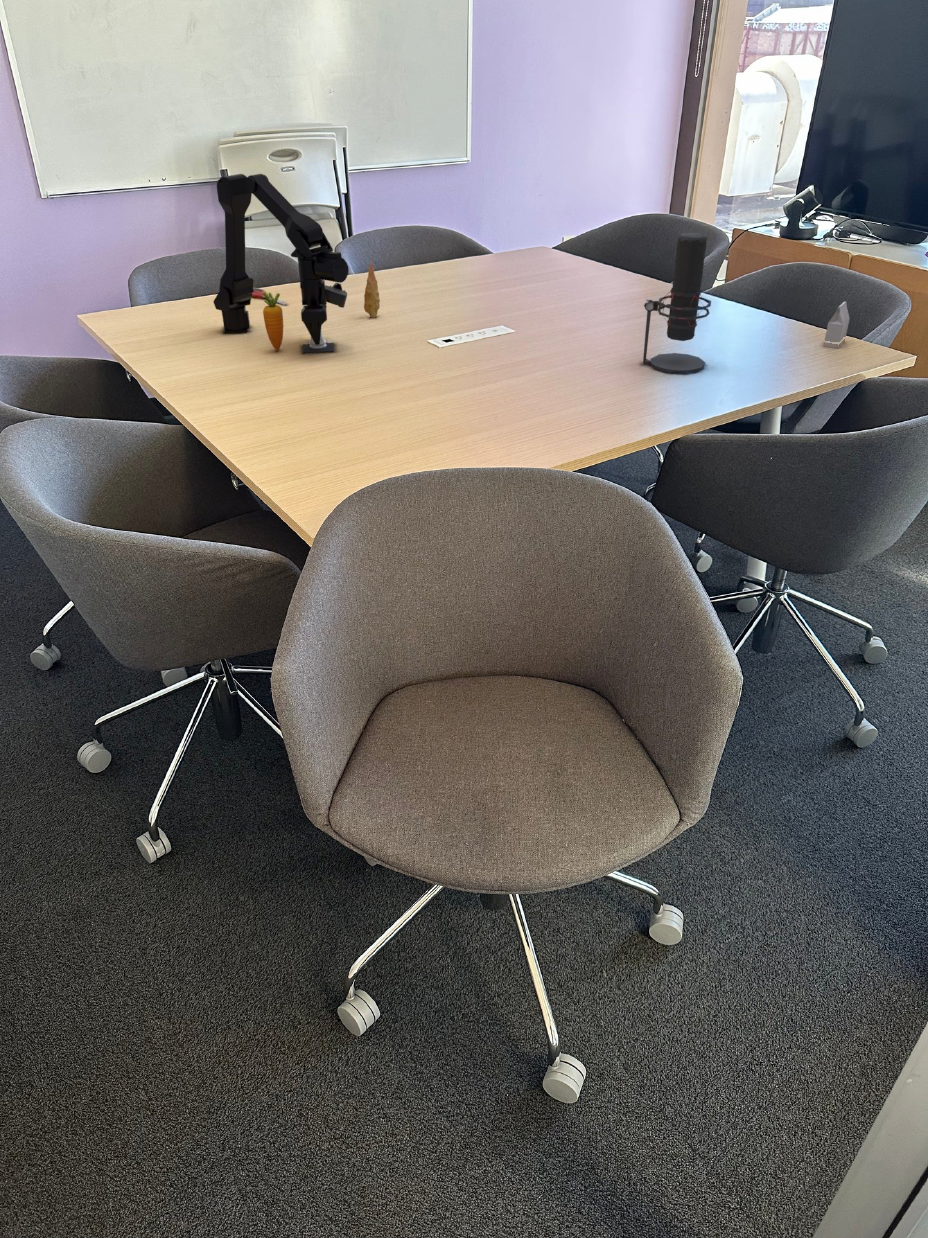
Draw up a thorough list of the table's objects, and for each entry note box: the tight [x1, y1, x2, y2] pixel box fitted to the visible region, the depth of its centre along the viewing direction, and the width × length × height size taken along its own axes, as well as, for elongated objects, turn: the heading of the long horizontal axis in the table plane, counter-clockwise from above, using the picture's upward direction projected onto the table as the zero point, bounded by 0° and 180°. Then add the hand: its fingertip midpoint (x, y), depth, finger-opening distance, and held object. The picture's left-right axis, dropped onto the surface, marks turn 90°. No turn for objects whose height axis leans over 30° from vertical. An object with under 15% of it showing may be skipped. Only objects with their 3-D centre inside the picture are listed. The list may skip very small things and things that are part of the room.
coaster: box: [302, 342, 335, 355], centre depth 234 cm, size 8×7×1 cm
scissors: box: [251, 287, 287, 306], centre depth 277 cm, size 8×21×2 cm, turn 58°
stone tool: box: [363, 262, 381, 319], centre depth 254 cm, size 5×2×15 cm, turn 141°
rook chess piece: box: [308, 330, 327, 349], centre depth 232 cm, size 4×4×8 cm
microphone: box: [642, 232, 712, 375], centre depth 212 cm, size 14×13×30 cm
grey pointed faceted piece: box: [823, 301, 851, 349], centre depth 230 cm, size 4×7×10 cm, turn 147°
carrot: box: [262, 290, 284, 352], centre depth 229 cm, size 5×5×15 cm
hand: (317, 339), depth 233 cm, fingers open, 7 cm apart
